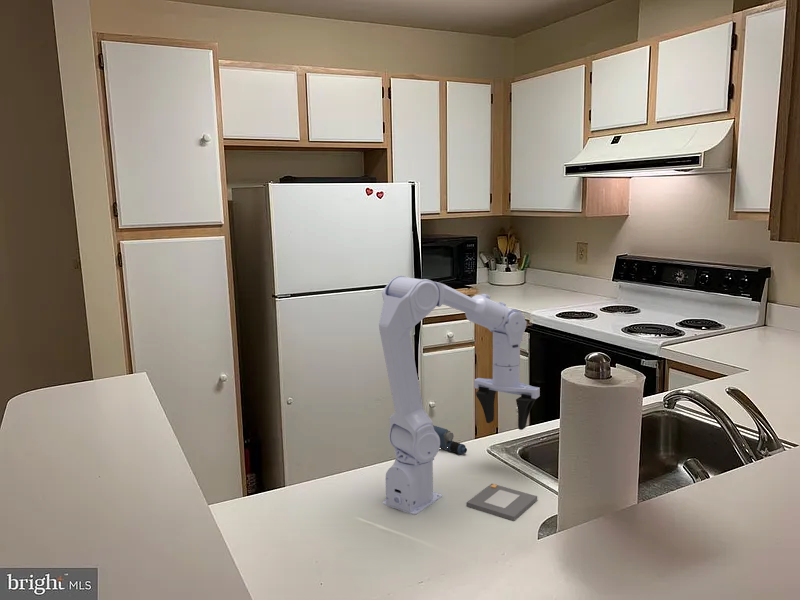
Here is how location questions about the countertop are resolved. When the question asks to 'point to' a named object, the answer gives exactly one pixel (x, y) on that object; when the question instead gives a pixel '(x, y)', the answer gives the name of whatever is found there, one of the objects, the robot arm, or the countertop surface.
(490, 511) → the computer chip
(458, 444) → the vaping device
